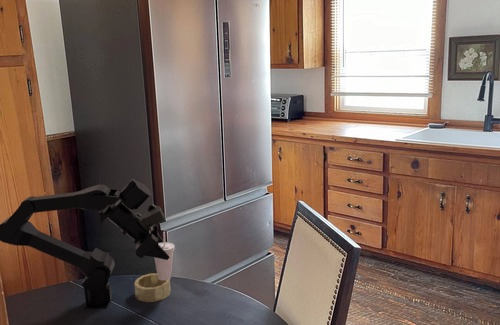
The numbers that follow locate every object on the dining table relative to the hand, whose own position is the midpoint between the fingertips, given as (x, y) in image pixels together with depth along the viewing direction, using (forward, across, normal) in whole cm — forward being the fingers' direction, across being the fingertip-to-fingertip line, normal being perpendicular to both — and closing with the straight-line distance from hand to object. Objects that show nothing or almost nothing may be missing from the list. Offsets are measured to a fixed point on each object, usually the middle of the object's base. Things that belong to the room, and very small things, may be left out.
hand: (168, 253), depth 135 cm
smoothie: (+4, 0, +6) cm, 7 cm away
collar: (+6, +2, +13) cm, 14 cm away
